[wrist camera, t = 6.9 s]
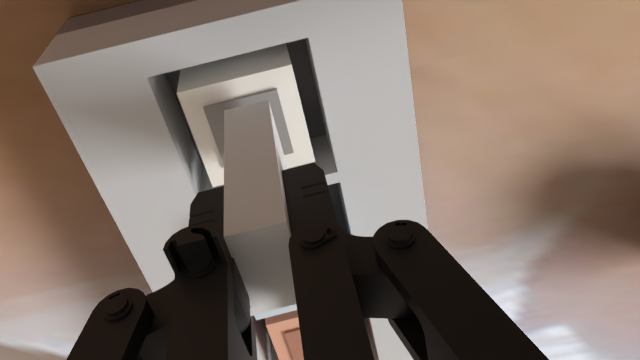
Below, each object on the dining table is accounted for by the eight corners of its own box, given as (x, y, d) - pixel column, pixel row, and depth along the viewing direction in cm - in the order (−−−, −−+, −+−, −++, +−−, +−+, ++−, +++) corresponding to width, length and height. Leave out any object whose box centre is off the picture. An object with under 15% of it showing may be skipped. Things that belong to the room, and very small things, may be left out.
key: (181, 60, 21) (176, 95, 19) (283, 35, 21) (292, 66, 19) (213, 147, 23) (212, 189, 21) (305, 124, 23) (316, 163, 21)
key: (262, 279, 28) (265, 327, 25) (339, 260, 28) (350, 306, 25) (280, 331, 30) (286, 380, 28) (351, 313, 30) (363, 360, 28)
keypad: (68, 18, 22) (32, 66, 18) (365, -56, 22) (399, -25, 18) (220, 342, 33) (220, 418, 29) (415, 293, 33) (443, 361, 29)
